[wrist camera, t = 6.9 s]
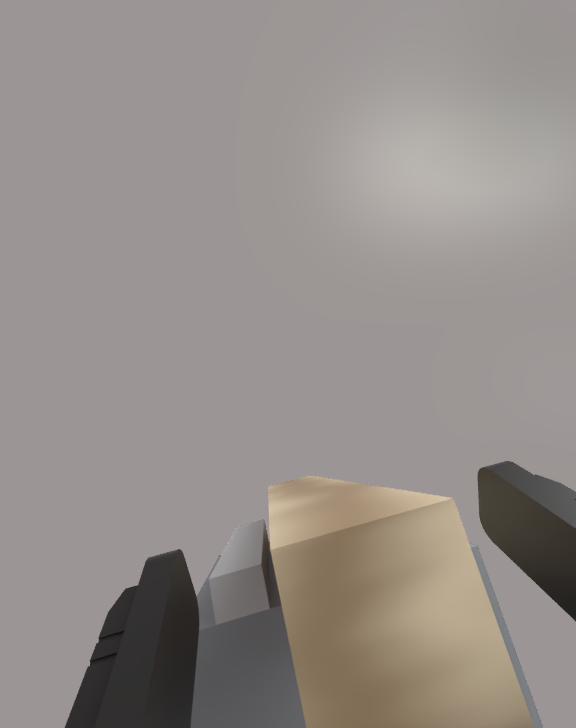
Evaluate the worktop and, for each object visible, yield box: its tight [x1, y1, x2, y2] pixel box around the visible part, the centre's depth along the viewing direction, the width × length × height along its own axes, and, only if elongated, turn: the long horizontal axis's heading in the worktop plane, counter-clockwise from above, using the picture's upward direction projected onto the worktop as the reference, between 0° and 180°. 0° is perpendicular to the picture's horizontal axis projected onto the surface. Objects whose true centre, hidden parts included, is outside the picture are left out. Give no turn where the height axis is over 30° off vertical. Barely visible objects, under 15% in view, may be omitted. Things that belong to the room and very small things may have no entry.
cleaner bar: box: [268, 476, 535, 728], centre depth 18 cm, size 4×26×4 cm, turn 3°
